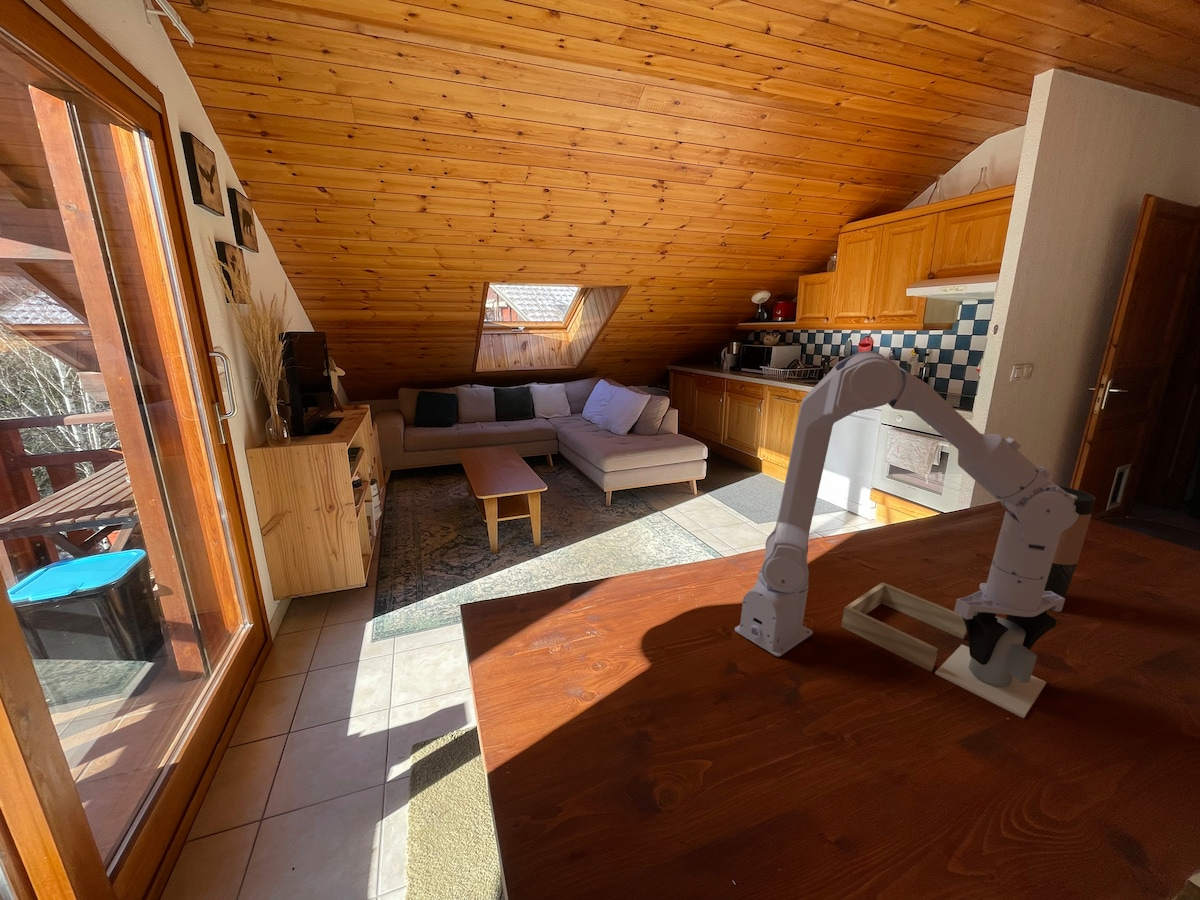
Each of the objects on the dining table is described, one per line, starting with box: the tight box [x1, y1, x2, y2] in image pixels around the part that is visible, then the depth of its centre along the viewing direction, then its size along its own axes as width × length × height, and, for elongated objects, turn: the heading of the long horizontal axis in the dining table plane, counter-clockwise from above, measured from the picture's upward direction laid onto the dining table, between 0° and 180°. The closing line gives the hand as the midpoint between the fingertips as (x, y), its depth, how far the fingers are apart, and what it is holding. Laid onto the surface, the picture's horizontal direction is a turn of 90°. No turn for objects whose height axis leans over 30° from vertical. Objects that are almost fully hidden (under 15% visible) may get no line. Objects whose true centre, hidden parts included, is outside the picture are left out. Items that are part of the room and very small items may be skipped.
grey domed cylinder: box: [969, 615, 1038, 686], centre depth 69 cm, size 7×5×8 cm
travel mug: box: [1044, 485, 1097, 599], centre depth 88 cm, size 8×8×20 cm
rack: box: [841, 582, 967, 672], centre depth 80 cm, size 13×13×4 cm
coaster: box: [934, 644, 1047, 719], centre depth 71 cm, size 10×10×1 cm
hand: (995, 658), depth 70 cm, fingers closed on grey domed cylinder, 5 cm apart
